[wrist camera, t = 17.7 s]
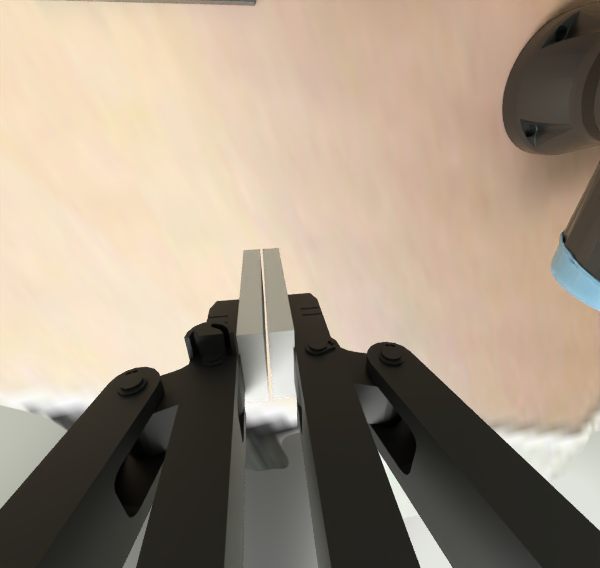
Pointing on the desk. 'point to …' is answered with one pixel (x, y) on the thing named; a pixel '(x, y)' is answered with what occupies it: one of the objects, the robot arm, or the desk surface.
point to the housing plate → (186, 1)
